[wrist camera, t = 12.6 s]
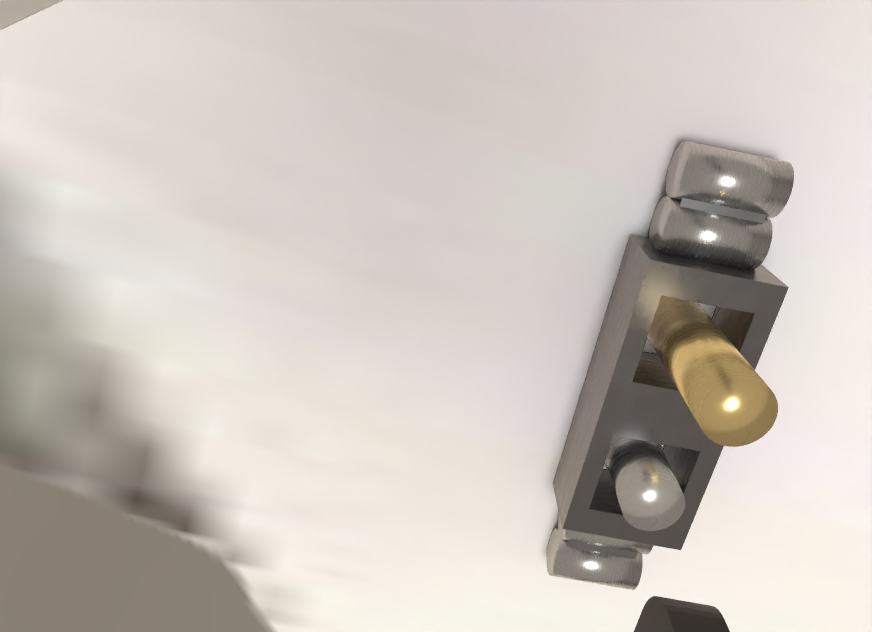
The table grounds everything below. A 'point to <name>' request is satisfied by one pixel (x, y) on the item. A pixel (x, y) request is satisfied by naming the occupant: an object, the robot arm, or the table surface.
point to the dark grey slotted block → (645, 373)
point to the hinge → (21, 10)
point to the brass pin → (711, 374)
